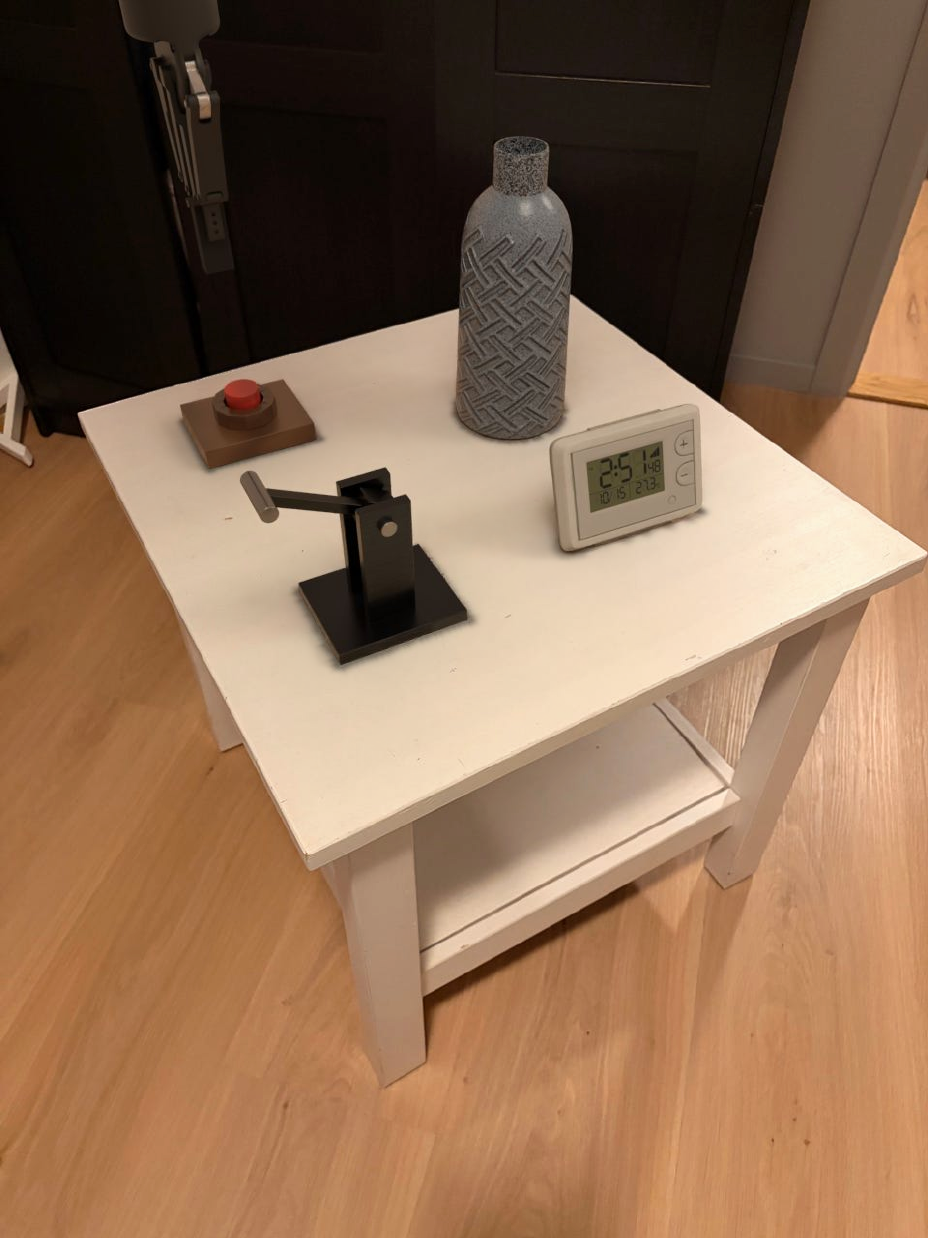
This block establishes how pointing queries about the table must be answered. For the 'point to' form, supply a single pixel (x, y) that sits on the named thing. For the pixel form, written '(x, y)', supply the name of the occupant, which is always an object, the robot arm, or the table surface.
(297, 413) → the button block
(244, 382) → the button
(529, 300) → the vase
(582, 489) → the digital clock
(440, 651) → the table surface
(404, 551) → the bracket
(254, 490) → the lever
